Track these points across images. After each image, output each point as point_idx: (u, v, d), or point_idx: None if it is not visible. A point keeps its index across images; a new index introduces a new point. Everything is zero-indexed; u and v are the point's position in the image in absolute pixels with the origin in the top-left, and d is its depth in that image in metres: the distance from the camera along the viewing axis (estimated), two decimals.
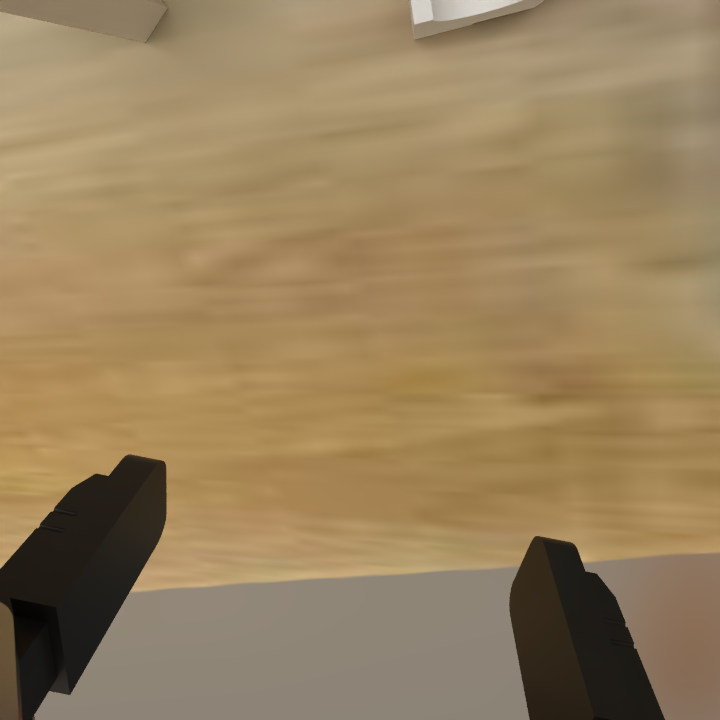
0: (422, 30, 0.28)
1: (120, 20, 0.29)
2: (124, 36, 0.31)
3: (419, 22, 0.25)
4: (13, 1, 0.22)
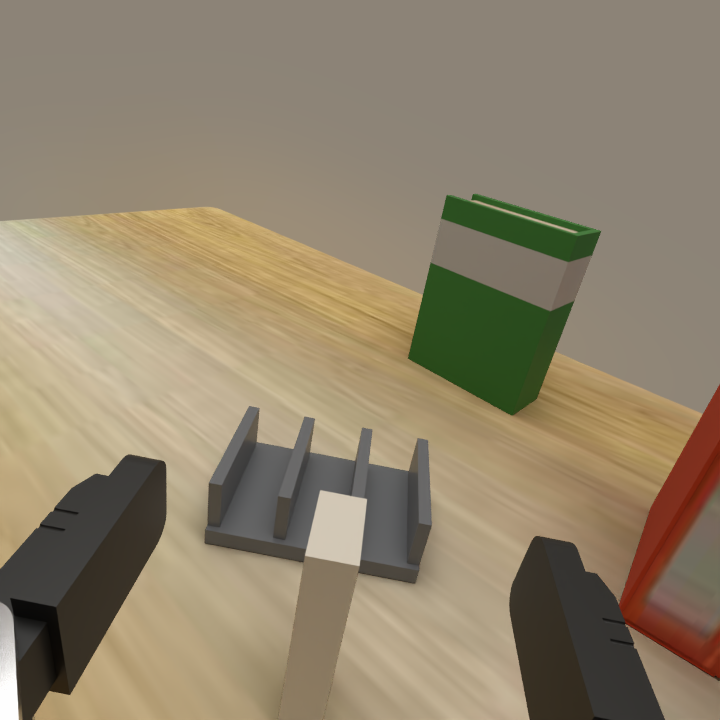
0: None
1: (300, 691, 0.29)
2: (282, 702, 0.30)
3: None
4: (311, 590, 0.25)
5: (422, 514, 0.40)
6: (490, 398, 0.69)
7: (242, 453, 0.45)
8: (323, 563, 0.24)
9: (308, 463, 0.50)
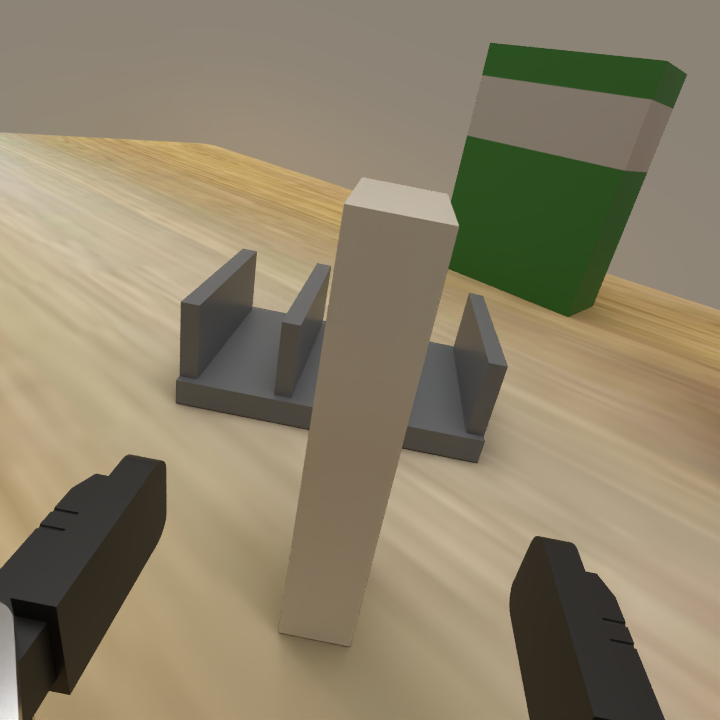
0: None
1: (321, 553, 0.16)
2: (289, 578, 0.17)
3: None
4: (352, 304, 0.12)
5: (491, 355, 0.28)
6: (540, 298, 0.57)
7: (232, 293, 0.33)
8: (383, 222, 0.12)
9: (321, 329, 0.38)
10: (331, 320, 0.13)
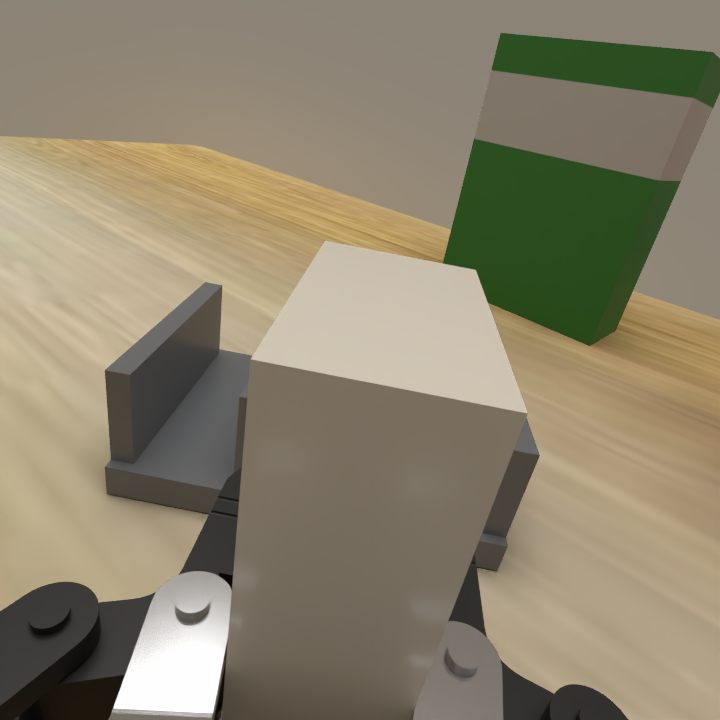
0: None
1: None
2: None
3: None
4: (285, 546, 0.06)
5: None
6: (557, 324, 0.50)
7: (186, 344, 0.26)
8: (344, 401, 0.05)
9: None
10: (244, 572, 0.06)
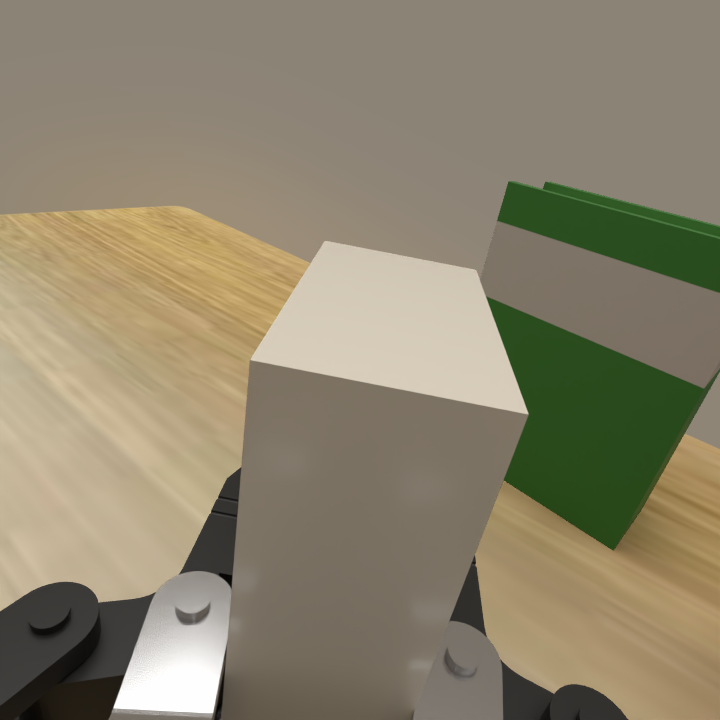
0: None
1: None
2: None
3: None
4: (285, 547, 0.06)
5: None
6: (574, 516, 0.42)
7: None
8: (344, 401, 0.05)
9: None
10: (243, 573, 0.06)
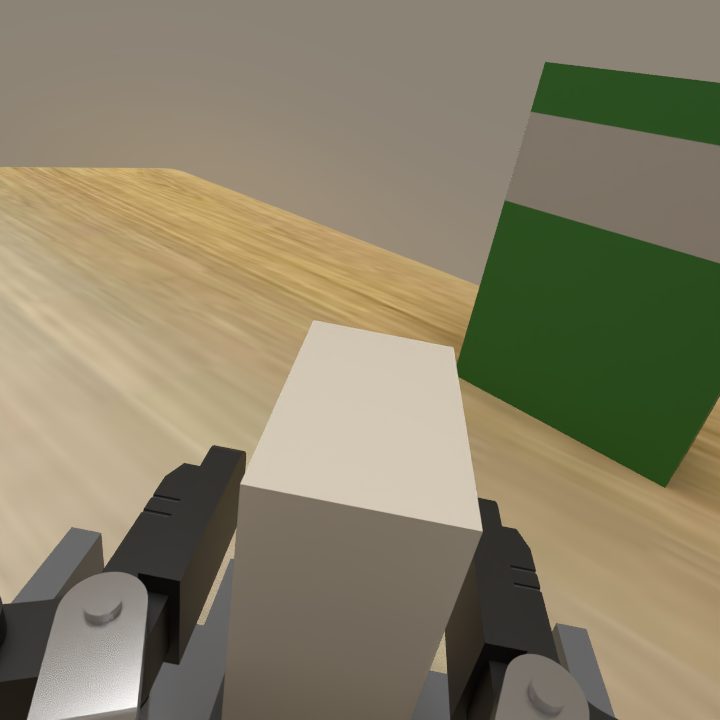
0: None
1: None
2: None
3: None
4: (273, 631, 0.06)
5: None
6: (617, 452, 0.37)
7: None
8: (322, 518, 0.06)
9: None
10: (236, 651, 0.07)
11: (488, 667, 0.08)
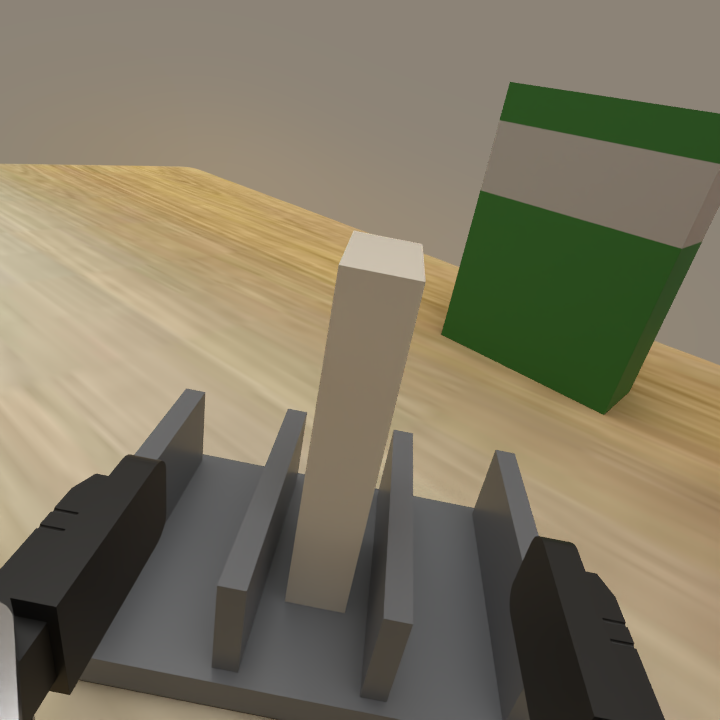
0: None
1: (321, 534, 0.20)
2: (294, 555, 0.21)
3: None
4: (345, 338, 0.16)
5: None
6: (568, 389, 0.47)
7: None
8: (368, 279, 0.15)
9: (294, 494, 0.28)
10: (329, 350, 0.16)
11: None
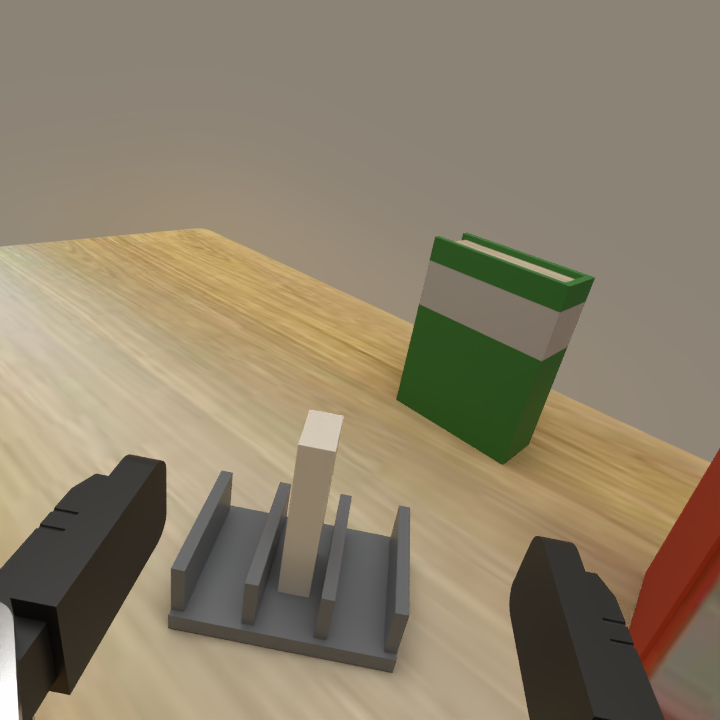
0: None
1: (295, 557, 0.40)
2: (282, 567, 0.41)
3: None
4: (302, 472, 0.36)
5: (399, 601, 0.38)
6: (480, 445, 0.67)
7: (211, 526, 0.43)
8: (311, 450, 0.35)
9: (284, 530, 0.48)
10: (295, 476, 0.36)
11: None
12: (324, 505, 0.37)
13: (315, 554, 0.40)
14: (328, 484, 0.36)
